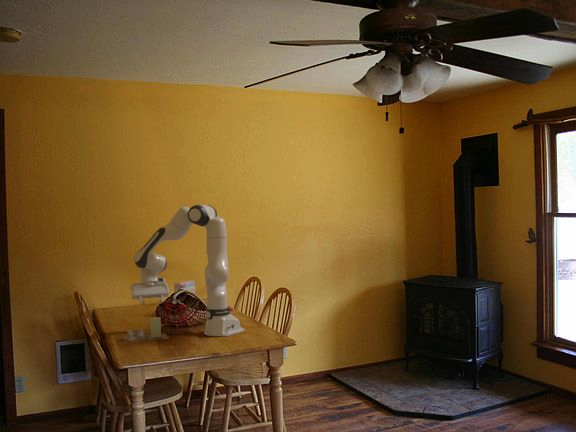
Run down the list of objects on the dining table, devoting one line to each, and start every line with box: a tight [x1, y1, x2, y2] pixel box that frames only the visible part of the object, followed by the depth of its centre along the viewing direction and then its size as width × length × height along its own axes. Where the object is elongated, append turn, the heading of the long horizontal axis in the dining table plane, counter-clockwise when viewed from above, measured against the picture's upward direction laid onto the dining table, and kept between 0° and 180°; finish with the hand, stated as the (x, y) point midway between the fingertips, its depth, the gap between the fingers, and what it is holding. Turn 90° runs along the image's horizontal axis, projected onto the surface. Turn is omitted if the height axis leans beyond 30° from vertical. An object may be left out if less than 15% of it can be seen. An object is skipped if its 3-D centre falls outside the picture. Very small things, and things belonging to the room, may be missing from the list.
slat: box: [149, 316, 162, 338], centre depth 284 cm, size 5×2×10 cm, turn 112°
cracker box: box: [173, 279, 196, 295], centre depth 349 cm, size 14×6×21 cm, turn 149°
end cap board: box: [122, 328, 170, 344], centre depth 282 cm, size 22×12×6 cm, turn 112°
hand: (152, 303), depth 295 cm, fingers open, 8 cm apart
